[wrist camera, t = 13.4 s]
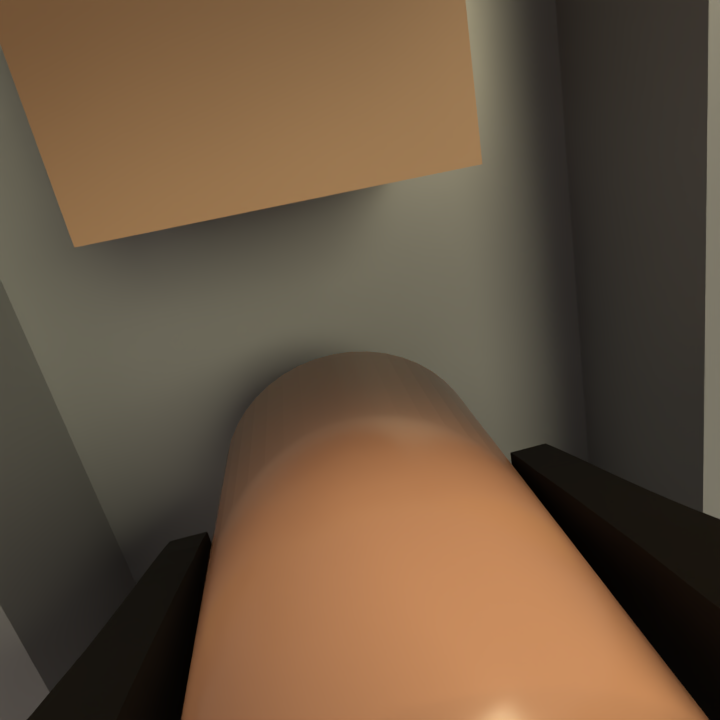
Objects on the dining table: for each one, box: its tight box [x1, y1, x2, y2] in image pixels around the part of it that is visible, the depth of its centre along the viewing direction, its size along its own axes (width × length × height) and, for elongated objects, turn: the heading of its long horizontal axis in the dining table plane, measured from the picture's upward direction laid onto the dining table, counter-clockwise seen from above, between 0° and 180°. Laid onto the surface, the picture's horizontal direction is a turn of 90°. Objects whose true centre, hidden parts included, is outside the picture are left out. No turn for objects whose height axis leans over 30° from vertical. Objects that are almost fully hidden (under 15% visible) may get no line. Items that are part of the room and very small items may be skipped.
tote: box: [0, 0, 720, 720], centre depth 10 cm, size 18×14×5 cm
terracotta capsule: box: [181, 351, 709, 720], centre depth 8 cm, size 5×5×7 cm
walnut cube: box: [0, 0, 482, 248], centre depth 8 cm, size 5×5×5 cm
